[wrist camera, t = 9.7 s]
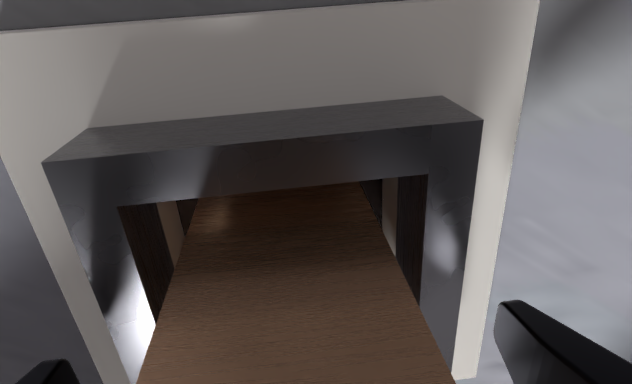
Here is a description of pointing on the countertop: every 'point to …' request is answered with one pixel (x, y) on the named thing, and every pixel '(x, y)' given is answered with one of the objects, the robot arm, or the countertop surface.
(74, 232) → the collar plate
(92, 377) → the countertop surface
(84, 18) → the countertop surface
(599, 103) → the countertop surface
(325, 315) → the wooden square prism
